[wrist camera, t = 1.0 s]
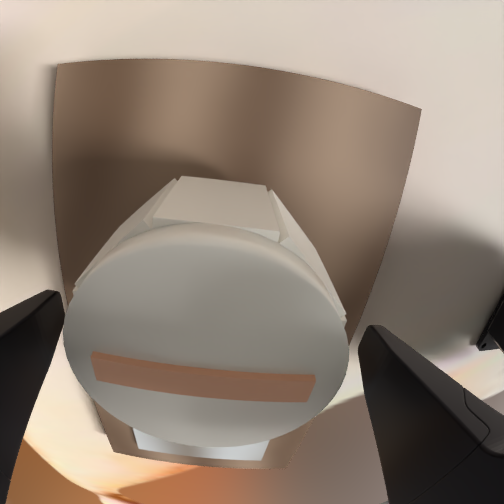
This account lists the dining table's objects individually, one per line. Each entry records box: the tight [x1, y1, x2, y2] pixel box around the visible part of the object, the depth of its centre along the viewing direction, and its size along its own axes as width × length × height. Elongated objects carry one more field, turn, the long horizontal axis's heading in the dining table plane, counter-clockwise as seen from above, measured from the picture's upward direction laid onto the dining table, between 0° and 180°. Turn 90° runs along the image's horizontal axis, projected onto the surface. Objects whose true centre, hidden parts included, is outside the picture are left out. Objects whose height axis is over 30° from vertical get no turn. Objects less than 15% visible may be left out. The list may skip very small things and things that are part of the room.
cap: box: [63, 176, 349, 447], centre depth 9 cm, size 7×7×5 cm
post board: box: [52, 59, 422, 469], centre depth 13 cm, size 14×26×7 cm, turn 172°
